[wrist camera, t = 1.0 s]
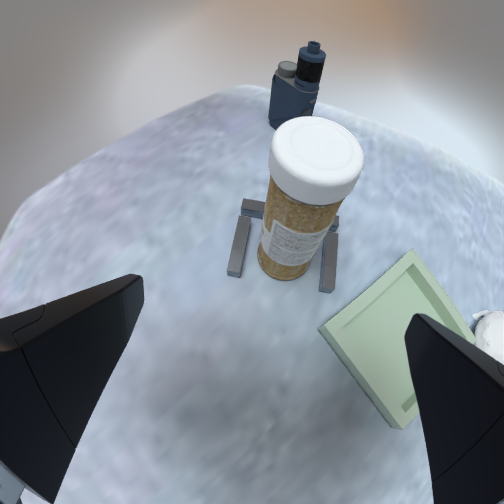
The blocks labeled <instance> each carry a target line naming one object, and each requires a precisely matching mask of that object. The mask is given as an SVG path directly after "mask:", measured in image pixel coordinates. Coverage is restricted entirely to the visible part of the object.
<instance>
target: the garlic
mask: <svg viewBox="0 0 504 504" xmlns="http://www.w3.org/2000/svg"><path fill="white" fill-rule="evenodd" d="M472 316H473V317H474V319H476V320H478V318H479V317H480V316H484V317H483V318H482V319H481V320H480V321H479V322H478V324H477V326H476V329H475V333H474V336H475V338H476V339H477V340H476V341H475V343H474V345H475V346H476V347H478V348H479V349H481V350H482V351H484V352H485V353H487V354H488V355H490V356H491V357H493V358H494V359H495V360H497V361H499V362H500V363H502V364H503V365H504V312H502V311H500V310H496V311H493V312H492V311H489V310H483V311H481V312H478V313H475V314H474V315H472Z"/></svg>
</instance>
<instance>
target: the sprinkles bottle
mask: <svg viewBox="0 0 504 504" xmlns="http://www.w3.org/2000/svg"><path fill="white" fill-rule="evenodd" d="M363 166H364V154H363V150H362V148H361V145H360V144H359V142H358V140H357V139H356V138H355V137H354V136H353V134H352V133H350V132H349V131H348V130H347V129H346V128H344V127H343V126H341V125H339V124H337V123H335V122H333V121H331V120H328V119H324V118H320V117H313V116H304V117H297V118H294V119H291V120H288V121H286V122H285V123H283V124H282V125H281V126H280V127H279V128H278V129H277V130H276V131H275V133H274V135H273V138H272V142H271V148H270V155H269V171H270V183H269V188H268V194H267V199H266V203H265V208H264V215H263V222H262V228H261V235H260V236H261V242H260V244H259V248H258V260H259V263H260V266H261V267H262V268H263V270H264V271H265V272H266V273H267V274H268V275H270V276H271V277H273V278H276V279H279V280H293V279H295V278H297V277H299V276H301V275H302V274H303V273H304V272H305V271H306V270H307V268H308V266H309V263H310V259H311V258H312V257H313V256H314V254H315V253H316V251H317V249H318V247H319V246H320V244H321V242H322V240H323V239H324V237H325V235H326V233H327V232H328V230H329V228H330V226H331V225H332V223H333V221H334V219H335V216H336V213H337V211H338V209H339V207H340V205H341V203H342V202H343V200H344V199H345V197H347V196H348V195H349V194H350V193H351V191H352V190H353V188H354V186H355V184H356V182H357V180H358V178H359V176H360V174H361V171H362V169H363Z"/></svg>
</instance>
